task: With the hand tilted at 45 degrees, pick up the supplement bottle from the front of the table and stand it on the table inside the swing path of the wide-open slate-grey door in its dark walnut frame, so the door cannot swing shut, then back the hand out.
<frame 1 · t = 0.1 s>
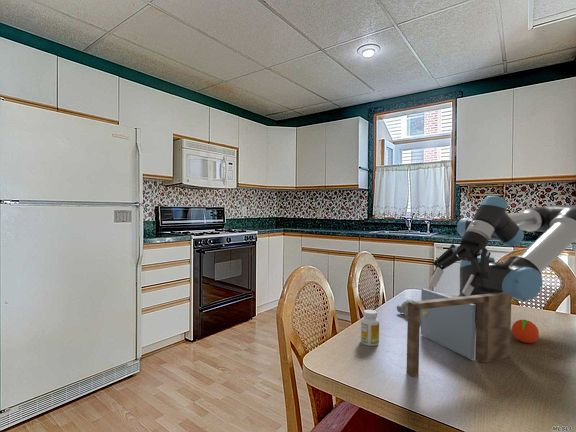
hand: (447, 289, 106), 15 cm above the table, tool tilted 35°, fingers open, 13 cm apart
mineral specimen: (415, 319, 124), on the table
supplement bottle: (369, 343, 100), on the table
door: (445, 320, 98), point 8 cm above the table, hinge at -90.0°
door frame: (446, 367, 85), on the table
clementine: (524, 343, 102), on the table
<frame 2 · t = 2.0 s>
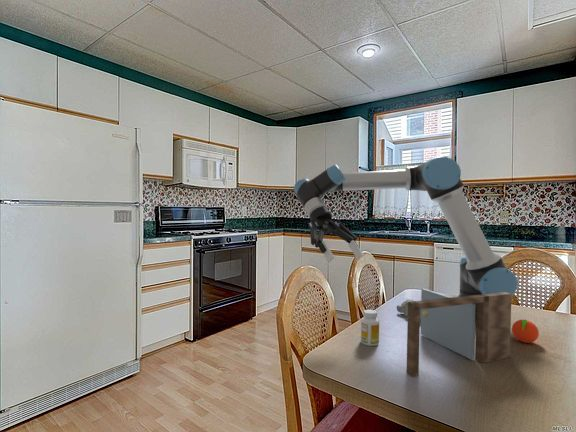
hand: (346, 258, 109), 25 cm above the table, tool tilted 45°, fingers open, 13 cm apart
nothing on the table moved.
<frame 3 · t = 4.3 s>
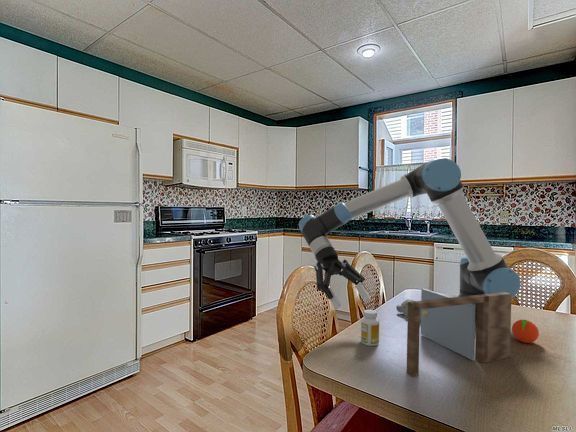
hand: (353, 304, 105), 11 cm above the table, tool tilted 45°, fingers open, 13 cm apart
nothing on the table moved.
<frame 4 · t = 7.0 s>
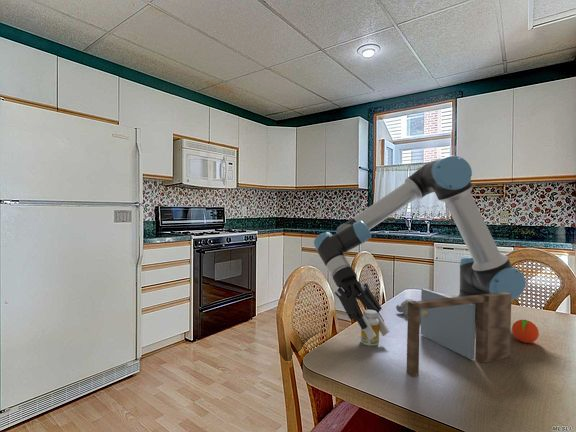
hand: (379, 335, 97), 3 cm above the table, tool tilted 45°, fingers closed on supplement bottle, 5 cm apart
supplement bottle: (369, 343, 100), on the table, touching gripper
everything else where it was.
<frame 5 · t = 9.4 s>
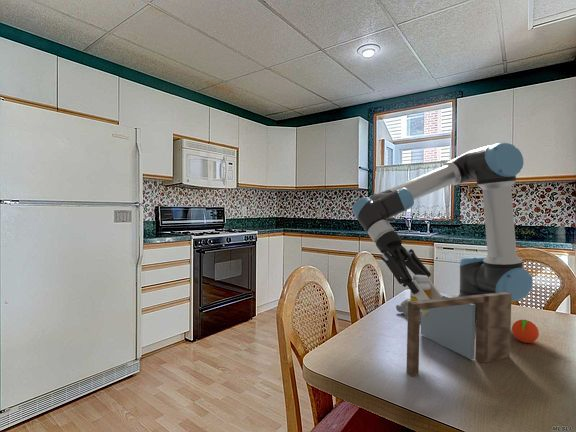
hand: (432, 301, 90), 16 cm above the table, tool tilted 45°, fingers closed on supplement bottle, 5 cm apart
supplement bottle: (420, 310, 93), point 12 cm above the table, touching gripper
when the fingers open (5 cm above the table, at t = 12.2 s): supplement bottle drops 1 cm, on the table.
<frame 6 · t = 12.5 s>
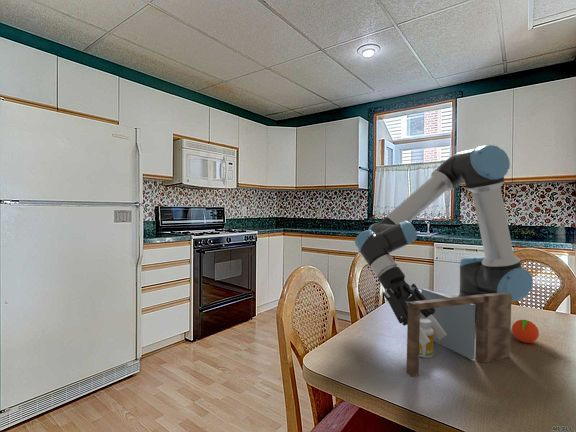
hand: (434, 340, 90), 5 cm above the table, tool tilted 45°, fingers open, 8 cm apart
supplement bottle: (422, 354, 93), on the table
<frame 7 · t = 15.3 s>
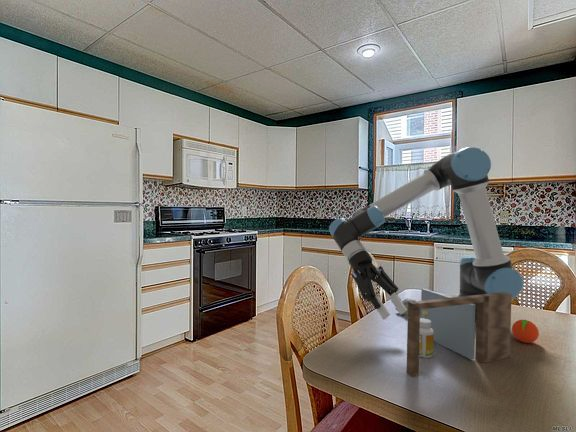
hand: (395, 314, 101), 9 cm above the table, tool tilted 45°, fingers open, 8 cm apart
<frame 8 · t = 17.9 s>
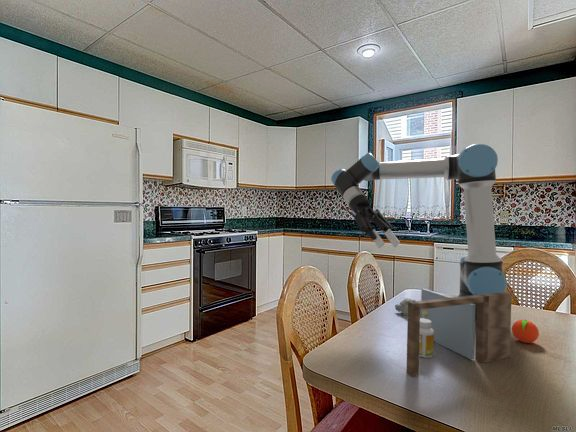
hand: (389, 245, 115), 29 cm above the table, tool tilted 45°, fingers open, 8 cm apart
at the end: supplement bottle inside the target area (0.1 cm from its centre), on the table; supplement bottle tilted 0°; door at -90° (first picture: -90°) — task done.
